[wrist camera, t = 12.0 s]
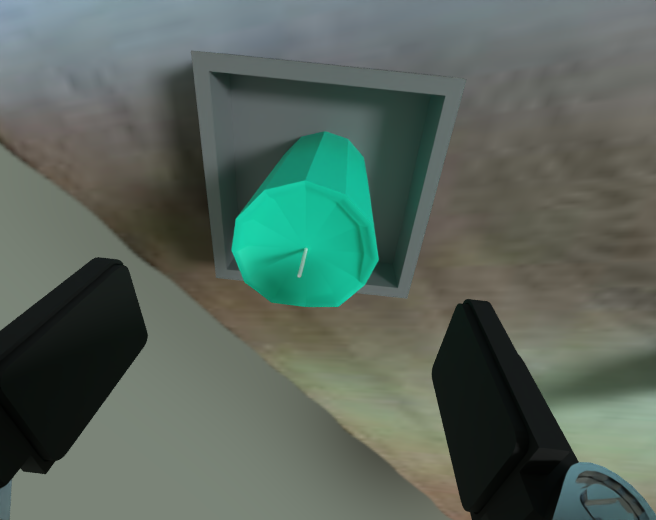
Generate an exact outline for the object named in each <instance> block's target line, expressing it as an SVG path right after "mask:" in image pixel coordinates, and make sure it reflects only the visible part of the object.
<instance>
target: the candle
mask: <svg viewBox="0 0 656 520" xmlns="http://www.w3.org/2000/svg"><path fill="white" fill-rule="evenodd" d="M232 253H233V255H234V258H235V260H236V263H237V265H238V268H239V270H240V272H241V275H242V277H243V280H244V282H245V283H246V284H248V285H249V286H250V287H252V288H253V289H254V290H256V291H257V292H258V293H260V294H261V295H262V296H264V297H265V298H266V299H267V300H269V301H270V302H271V303H279V304H287V305H295V306H303V307H339V306H340V305H341V304H342V303H344V302H345V301H346V300H347V299H348V298H350V297H351V296H352V295H353V294H355V293H356V292H357V291H358V290H359V289H361V288H362V287H363V286H364V285H365V284H366V282H367V280H368V279H369V277H370V275H371V273H372V271H373V270H374V268H375V266H376V264H377V262H378V260H379V257H378V250H377V243H376V236H375V229H374V221H373V214H372V207H371V200H370V193H369V186H368V179H367V173H366V167H365V161H364V157H363V156H362V155H361V153H360V152H359V151H358V150H357V149H356V148H355V146H354V145H353V144H352V143H351V142H350V140H349V139H347V138H344V137H341V136H338V135H335V134H332V133H329V132H326V131H323V132H319V133H315V134H310V135H306V136H302V137H301V138H300V139H299V140H298V141H297V142H296V143H295V144H294V145H293V146H292V147H291V148H290V149H289V150H288V151H287V152H286V153H285V154H284V155H283V157H282V158H281V159H280V161H279V162H278V163H277V165H276V166H275V167H274V169H273V170H272V171H271V173H270V174H269V175H268V177H267V178H266V179H265V181H264V182H263V183H262V185H261V186H260V187H259V189H258V190H257V191H256V193H255V194H254V195H253V197H252V198H251V199H250V201H249V202H248V203H247V205H246V206H245V207H244V209H243V210H242V211H241V212H240V214H239V215H238V216H237V218H236V221H235V228H234V236H233V243H232Z"/></svg>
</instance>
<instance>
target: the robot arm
mask: <svg viewBox="0 0 656 520" xmlns="http://www.w3.org/2000/svg"><path fill="white" fill-rule="evenodd" d="M147 337H148V334H147V330H146V327H145V323H144V320H143V316H142V313H141V310H140V307H139V303H138V300H137V296H136V293H135V289H134V287H133V283H132V279H131V276H130V273H129V270H128V268H127V267H126V266H124V265H123V263H122V262H121V261H120V260H117V259H108V258H99V257H98V258H94V259H92V260H91V261H90V262H88V263H87V264H86V265H84V266H83V267H82V268H81V269H79V270H78V271H77V272H75V273H74V274H73V275H72V276H70V277H69V278H68V279H66V280H65V281H64V282H63V283H61V284H60V285H59V286H57V287H56V288H55V289H54V290H52V291H51V292H50V293H48V294H47V295H46V296H45V297H43V298H42V299H41V300H39V301H38V302H37V303H35V304H34V305H33V306H32V307H30V308H29V309H28V310H26V311H25V312H24V313H23V314H21V315H20V316H19V317H17V318H16V319H15V320H14V321H12V322H11V323H10V324H8V325H7V326H6V327H5V328H3V329H2V330H1V331H0V520H10V506H11V486H12V478H13V477H14V475H15V474H16V473H17V472H18V470H19V469H20V468H21V469H22V470H23V471H24V472H32V473H40V474H46V473H47V472H48V471H49V469H50V468H51V466H52V465H53V464H54V462H55V461H57V460H60V459H61V458H62V457H64V456H65V454H66V453H67V452H68V451H69V449H70V448H71V446H72V445H73V444H74V442H75V441H76V440H77V438H78V437H79V436H80V434H81V433H82V431H83V430H84V429H85V427H86V426H87V424H88V423H89V422H90V420H91V419H92V418H93V416H94V415H95V413H96V412H97V411H98V409H99V408H100V407H101V405H102V404H103V402H104V401H105V400H106V398H107V397H108V396H109V394H110V393H111V391H112V390H113V389H114V387H115V386H116V384H117V383H118V382H119V380H120V379H121V378H122V376H123V375H124V373H125V372H126V371H127V369H128V368H129V367H130V365H131V364H132V362H133V361H134V360H135V358H136V357H137V356H138V354H139V353H140V351H141V350H142V349H143V347H144V346H145V344H146V341H147ZM432 380H433V385H434V389H435V393H436V397H437V402H438V406H439V410H440V414H441V418H442V423H443V427H444V431H445V435H446V440H447V444H448V448H449V452H450V457H451V461H452V465H453V469H454V474H455V478H456V482H457V486H458V491H459V495H460V499H461V503H462V506H463V508H464V509H465V511H468V512H470V514H471V518H472V520H656V514H655V513H654V511H653V510H652V508H651V507H650V506H649V504H648V503H647V501H646V500H645V499H644V498H643V497H642V496H641V495H640V494H639V493H638V491H637V490H636V489H635V488H634V487H633V486H632V485H630V484H629V483H628V482H627V481H625V480H624V479H623V478H621V477H620V476H619V475H617V474H616V473H614V472H612V471H610V470H608V469H607V468H605V467H603V466H599V465H596V464H593V463H587V462H578V460H577V458H576V456H575V454H574V452H573V451H572V449H571V447H570V445H569V443H568V442H567V440H566V438H565V436H564V434H563V432H562V431H561V429H560V427H559V425H558V423H557V421H556V420H555V418H554V416H553V414H552V412H551V410H550V409H549V407H548V405H547V403H546V401H545V400H544V398H543V396H542V394H541V392H540V390H539V389H538V387H537V385H536V383H535V381H534V379H533V378H532V376H531V374H530V372H529V370H528V368H527V367H526V365H525V363H524V361H523V360H522V358H521V357H520V356H519V355H518V353H517V351H516V350H515V348H514V346H513V344H512V342H511V340H510V338H509V337H508V335H507V333H506V331H505V329H504V327H503V326H502V324H501V322H500V320H499V318H498V316H497V314H496V313H495V311H494V309H493V307H492V305H491V304H490V303H489V302H488V301H480V300H471V299H466V300H465V301H464V302H463V304H458V305H457V306H456V308H455V311H454V313H453V316H452V319H451V321H450V324H449V326H448V329H447V331H446V334H445V336H444V339H443V342H442V344H441V347H440V349H439V352H438V354H437V357H436V359H435V362H434V365H433V368H432Z"/></svg>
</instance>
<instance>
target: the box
mask: <svg viewBox="0 0 656 520" xmlns="http://www.w3.org/2000/svg"><path fill="white" fill-rule="evenodd" d="M191 55H192V64H193V73H194V82H195V91H196V100H197V109H198V118H199V127H200V136H201V145H202V154H203V163H204V172H205V181H206V190H207V199H208V208H209V217H210V226H211V235H212V244H213V253H214V262H215V271H216V278H223V279H232V280H242V281H244V280H243V277H242V275H241V272H240V270H239V268H238V265H237V263H236V260H235V258H234V255H233V253H232V243H233V236H234V228H235V221H236V218H237V216H238V215H239V214H240V212H241V211H242V210H243V209H244V207H245V206H246V205H247V203H248V202H249V201H250V199H251V198H252V197H253V195H254V194H255V193H256V191H257V190H258V189H259V187H260V186H261V185H262V183H263V182H264V181H265V179H266V178H267V177H268V175H269V174H270V173H271V171H272V170H273V169H274V167H275V166H276V165H277V163H278V162H279V161H280V159H281V158H282V157H283V155H284V154H285V153H286V152H287V151H288V150H289V149H290V148H291V147H292V146H293V145H294V144H295V143H296V142H297V141H298V140H299V139H300V138H301V137H302V136H306V135H310V134H315V133H319V132H323V131H326V132H329V133H332V134H335V135H338V136H341V137H344V138H347V139H349V140H350V142H351V143H352V144H353V145H354V146H355V148H356V149H357V150H358V151H359V152H360V153H361V155H362V156H363V157H364V161H365V167H366V173H367V179H368V186H369V193H370V200H371V207H372V214H373V221H374V229H375V236H376V243H377V250H378V257H379V260H378V262H377V264H376V266H375V268H374V270H373V271H372V273H371V275H370V277H369V279H368V280H367V282H366V284H365V285H364V286H363V287H362V288H361V289H359V290H358V291H357V292H356V293H362V294H371V295H380V296H389V297H398V298H407V297H408V293H409V289H410V286H411V282H412V278H413V275H414V271H415V267H416V264H417V260H418V256H419V252H420V249H421V245H422V241H423V238H424V234H425V230H426V227H427V223H428V219H429V216H430V212H431V208H432V204H433V201H434V197H435V193H436V190H437V186H438V182H439V179H440V175H441V171H442V168H443V164H444V160H445V157H446V153H447V149H448V145H449V142H450V138H451V134H452V131H453V127H454V123H455V120H456V116H457V112H458V109H459V105H460V101H461V97H462V94H463V90H464V86H465V83H466V79H462V78H454V77H446V76H437V75H427V74H417V73H407V72H398V71H388V70H378V69H368V68H359V67H349V66H339V65H330V64H320V63H310V62H300V61H291V60H281V59H271V58H262V57H252V56H242V55H232V54H223V53H212V52H200V51H191Z"/></svg>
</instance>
